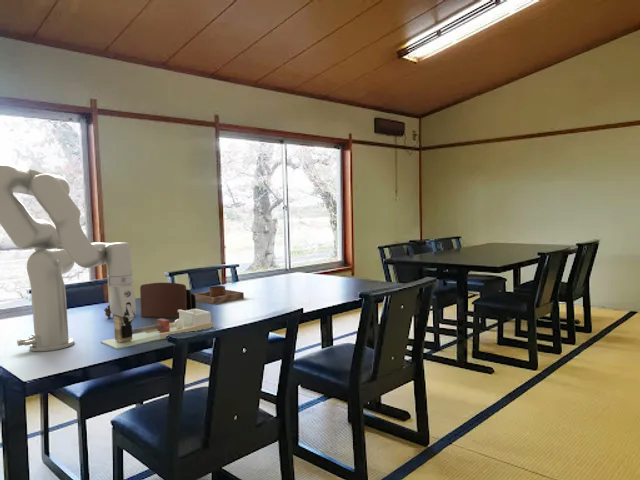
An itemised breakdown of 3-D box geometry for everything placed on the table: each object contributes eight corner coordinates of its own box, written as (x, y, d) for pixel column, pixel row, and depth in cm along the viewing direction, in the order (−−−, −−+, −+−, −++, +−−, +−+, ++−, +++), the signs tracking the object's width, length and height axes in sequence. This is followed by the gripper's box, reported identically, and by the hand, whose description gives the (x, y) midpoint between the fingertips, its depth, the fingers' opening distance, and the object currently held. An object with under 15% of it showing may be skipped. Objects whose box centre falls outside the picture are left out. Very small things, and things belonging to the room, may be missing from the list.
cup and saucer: (235, 298, 233) (234, 285, 233) (220, 303, 222) (219, 289, 222) (215, 297, 238) (214, 284, 238) (199, 301, 228) (198, 288, 227)
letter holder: (186, 317, 194) (185, 282, 193) (140, 317, 197) (138, 283, 196) (196, 312, 204) (195, 279, 203) (152, 312, 207) (150, 279, 206)
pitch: (116, 349, 150) (115, 329, 150) (100, 342, 159) (99, 323, 158) (212, 327, 175) (212, 310, 175) (195, 322, 184) (194, 306, 183)
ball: (177, 330, 170) (176, 320, 169) (172, 329, 172) (171, 319, 172) (186, 328, 172) (185, 318, 172) (181, 327, 175) (180, 317, 175)
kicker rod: (120, 342, 155) (119, 317, 154) (114, 339, 158) (113, 315, 158) (169, 331, 167) (168, 308, 166) (162, 329, 170) (161, 307, 170)
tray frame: (213, 304, 219) (213, 297, 218) (193, 300, 230) (192, 294, 230) (243, 298, 231) (243, 292, 230) (223, 295, 243) (222, 289, 242)
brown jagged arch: (128, 320, 193) (116, 304, 191) (109, 330, 195) (97, 314, 193) (140, 307, 204) (128, 291, 202) (122, 316, 206) (111, 301, 204)
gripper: (143, 281, 153) (146, 337, 155) (120, 277, 165) (123, 329, 166) (120, 284, 148) (123, 343, 149) (98, 279, 160) (101, 334, 161)
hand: (123, 335), depth 158 cm, fingers open, 4 cm apart
